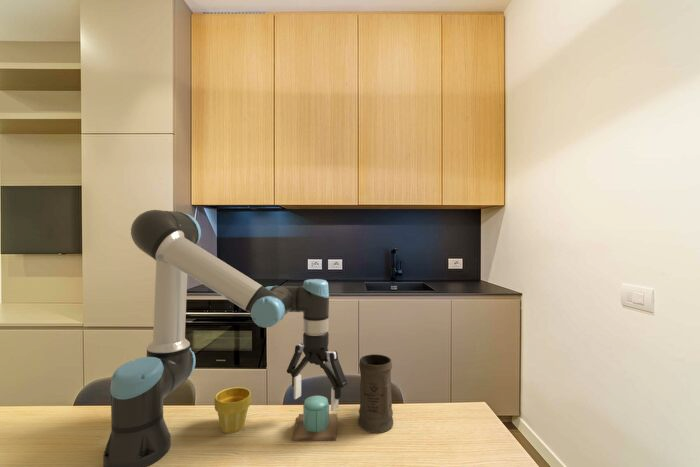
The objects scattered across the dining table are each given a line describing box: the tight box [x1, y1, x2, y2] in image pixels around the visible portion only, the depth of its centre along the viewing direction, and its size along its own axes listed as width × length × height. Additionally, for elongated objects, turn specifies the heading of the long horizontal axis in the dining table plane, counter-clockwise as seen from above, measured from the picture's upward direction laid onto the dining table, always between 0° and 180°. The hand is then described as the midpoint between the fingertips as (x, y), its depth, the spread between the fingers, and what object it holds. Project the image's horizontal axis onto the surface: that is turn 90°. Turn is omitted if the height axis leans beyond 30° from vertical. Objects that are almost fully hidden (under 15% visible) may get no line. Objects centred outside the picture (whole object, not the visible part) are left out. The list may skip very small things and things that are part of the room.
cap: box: [302, 395, 330, 432], centre depth 101 cm, size 7×7×7 cm
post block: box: [292, 413, 338, 442], centre depth 101 cm, size 12×12×7 cm
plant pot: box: [214, 386, 252, 434], centre depth 102 cm, size 10×10×10 cm
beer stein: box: [357, 353, 394, 434], centre depth 106 cm, size 15×11×20 cm
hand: (315, 403), depth 101 cm, fingers open, 13 cm apart
